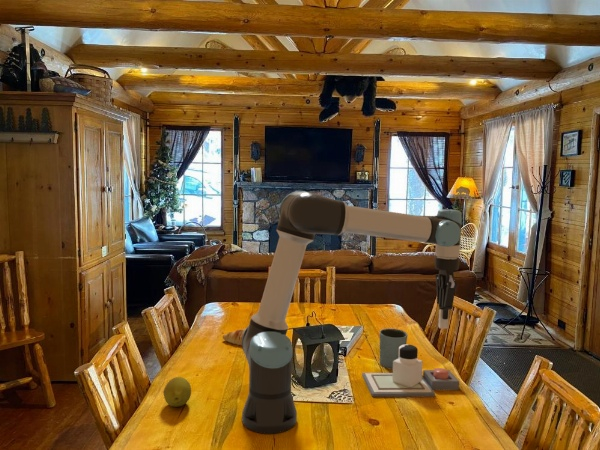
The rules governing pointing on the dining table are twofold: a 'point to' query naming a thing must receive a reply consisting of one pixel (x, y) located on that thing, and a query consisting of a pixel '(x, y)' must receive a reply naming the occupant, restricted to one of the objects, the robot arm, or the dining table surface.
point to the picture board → (394, 386)
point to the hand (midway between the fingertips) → (443, 327)
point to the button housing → (441, 381)
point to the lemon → (177, 391)
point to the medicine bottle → (407, 366)
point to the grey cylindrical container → (391, 346)
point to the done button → (440, 373)
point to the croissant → (234, 337)
